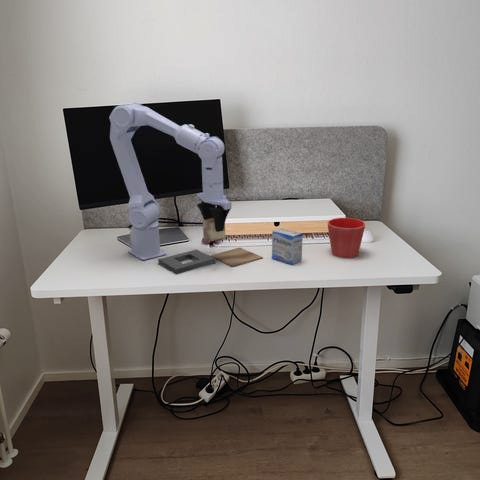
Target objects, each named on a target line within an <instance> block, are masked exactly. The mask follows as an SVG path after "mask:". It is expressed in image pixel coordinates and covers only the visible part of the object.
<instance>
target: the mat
mask: <svg viewBox="0 0 480 480" xmlns="http://www.w3.org/2000/svg"><path fill="white" fill-rule="evenodd" d="M210 256H211V257H213V258H215V260H217V261H218V262H220V263H221V262H222V263H223V264H225V265H227V266H229V267H231V268H235V267H238V266H241V265H245V264H248V263H252V262H255V261H258V260H262V259H264V258H263V256H261V255H258V254H257V253H254V252H251V251H249V250H247V249H246V248H243V247H236V248H233V249H229V250H225V251H221V252H218V253H214V254H211V255H210Z"/></svg>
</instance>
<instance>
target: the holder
mask: <svg viewBox="0 0 480 480" xmlns="http://www.w3.org/2000/svg"><path fill="white" fill-rule="evenodd" d="M157 260H158V261H157V262H158V265H160V266H161V267H163V268H164V269H166V270H168V271H169V272H170V273H171V272H172V273H173V274H175V275H179V274H182V273H186V272H190V271H193V270H197V269H201V268H203V267H207V266H212V265H215V264H216V262H217V261H216V259H215V258H213V257H211V255H209V254H206V253H205V252H203V251H201V250H199V249H192V250H188V251H186V252H181V253H178V254H172V255H169V256H165V257H162V258H158V259H157ZM187 260H192V261H188V262H186V263H183V262H184V261H187Z"/></svg>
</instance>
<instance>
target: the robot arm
mask: <svg viewBox="0 0 480 480" xmlns="http://www.w3.org/2000/svg"><path fill="white" fill-rule="evenodd" d="M108 118H109V121H110V128H109V132H110V133H109V141H110V143H111V146H112V150H113V152H114V155H115V157H116V160H117V163H118V167H119V169H120V172H121V175H122V177H123V181H124V185H125V187H126V190H127V192H128V196H129V201H128V205H127V209H128V212H129V214H128V220H129V223H130V224H131V227H130V231H129V236H130V237H129V239H130V246H131V247H130V250H128V253H129V254H131V255H133V256H135V257H136V258H138V259H139V260H141V261H145V260H150V259H155V258H158V257H162V256H166V255H167V253H166V252H164V251H163V250H161V243H160V241H161V240H160V239H161V238H160V229H159V228H160V226H159V219H160V217H161V216H162V209H161V206H160V205H159V203H158V202H157V200H155V197H154V195H153V194H151V193H150V192H149V190H148V188H147V185H146V182H145V178H144V176H143V173H142V171H141V167H140V164H139V161H138V158H137V155H136V151H135V149H134V146H133V144H132V138H133V137H134V134H135V133H136V131H137V130H138V129H139V128H140V127H141V126H142V127H143V126H149V127H152V128H154V129H156V130H158V131H160V132H162V133H165V134H167V135H169V136H172V137H173V138H174V139H175V141H176V144H178V145H180V146H181V147H183V148H185V149H188V150H190V151H191V152H193V153H195V154H197V155H198V157H199V158H200V159H201V176H202V177H201V178H202V179H201V180H202V192H199V193H196V201H201V202H200V203H197V208H198V209H199V212H201V215H202V220H206V219H211V218H214V223H215V229H216V232H220V231H223V229H224V225H225V226H226V220H227V217H228V215H229V213H230V211H231V209H232V201H230V200H228V199H227V195H225V194H224V172H223V170H224V169H223V154H224V153H225V144H224V142H223V140H221V139H220V138H219V137H218V136H210V133H208V132H206V133H204V132H202V131H200V130H199V129H196V128H195V125H193V124H192V123H191V124H190V123H189V124H185V123H184V124H183V125H178V124H177V123H176V122H174V121H172V120H170V119H168V118H166V117H165V116H163V115H161V114H159V113H158V112H156V111H154V110H153V109H151V108H149V107H148V106H144V105H142V104H141V103H140V102H139V103H137V102H134V103H131V104H119V105H117V106H115V107H114V108H113V110H112V111H111V113H110V115H109V117H108Z"/></svg>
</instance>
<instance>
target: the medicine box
mask: <svg viewBox="0 0 480 480" xmlns="http://www.w3.org/2000/svg"><path fill="white" fill-rule="evenodd" d="M271 235H272V236H271V237H272V238H271V240H272V241H271V259H272V260H275V261H279V262H282V263H285V264H288V265H292V266H294V265H296V264H299V263H301V262H302V261H303V236H304V235H303V233H302V232H297V231H295V230H294V231H293V230H289V229H285V228H277V229H274V230H273V231H272V234H271Z"/></svg>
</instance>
